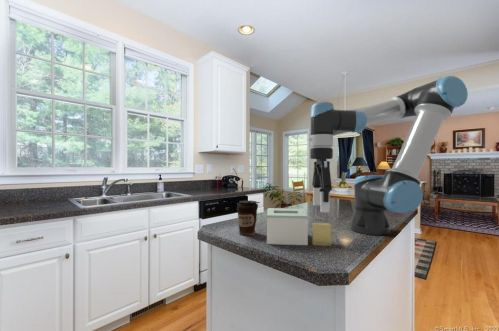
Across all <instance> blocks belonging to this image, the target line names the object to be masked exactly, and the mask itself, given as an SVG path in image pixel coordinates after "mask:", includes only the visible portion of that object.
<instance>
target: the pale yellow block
mask: <svg viewBox="0 0 499 331" xmlns="http://www.w3.org/2000/svg"><path fill="white" fill-rule="evenodd" d="M311 243H312V245H313V246H329V247H331V246H332V225H331V223H330V222H312V223H311Z"/></svg>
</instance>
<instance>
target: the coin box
mask: <svg viewBox="0 0 499 331" xmlns="http://www.w3.org/2000/svg"><path fill="white" fill-rule="evenodd" d="M308 218H309V215H308V214H307V213H306V212H305V210H304V209H303V208H282V207H281V208H279V207H278V208H276V207H275V208H272V207H269V208H267V210H266V244H267V245H286V246H308V245H309V242H308V241H309V239H308V238H309V233H308V232H309V229H308V228H309V225H308V224H309V219H308Z"/></svg>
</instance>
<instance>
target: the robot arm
mask: <svg viewBox="0 0 499 331" xmlns="http://www.w3.org/2000/svg"><path fill="white" fill-rule="evenodd" d="M468 95H469V93H468V88H467V86H466V84H465V82H464V81H463V80H462V79H460V77H457V76H454V75H448V76H445V77H439V78H438V79H436V80H433V81H431V82H429V83H425V84H423V85H420V86H418V87H415V88H412V89H411V90H408V91H406V92H404V93H401V94H399V95H397V96H393V97H391V98H390V99H389V100H388V101H384V102H381V103H378V104H374V105H373V104H372V105H370V106H367V107H363V108H359V109H356V110H345V109H335V106H334V104H333V103H332V102H329V101H319V102H316V103H314V104H312V106H311V109H310V137H309V138H308V141H309V142H310V147H311V148H310V150H309V152H310V153H309V157H310V159H311V160H316V161H314V162H313V174H312V183H311V184H312V187H313V188H312V189H313V191H312V196H313V197H312V198H313V199H312V200H313V201H312V205H313V206H320V212H321V213H330V212H331V211H330V209H331V208H330V204H331V200H330V199H331V194H330V193H331V191H333V188H332V186H333V185H332V179H331V170H330V169H331V168H330V167H331V166H330V161H329V160H332V159H333V156H334V155H333V154H334V150H333V148H332V147H333V146H334V136H337V135H342V134H346V133H355V134H356V133H361V132H363V131H364V130H365V129H366V127H367V126H371V125H374V124H379V123H381V122H384V121H388V120H392V119H394V120H400V119H405V118H411V117H415V118H414V120H413V122H412V124H411V126H410V128H409V131H408V132H407V135H406V137H405V139H404V141H403V143H402V145H401V148H400V151H399V153H398V155H397V158H395V161H394V163H393V165H392V168H390V169H387V170H385V172H384V174H375V175H374V174H373V175H372V174H371V175H360V176H356V177H355V179H354V185H353V187H354V211H353V214H352V218H351V220H350V224H349V228H350V230H351V231H354V232H355V233H356V232H357V233H358V234H359V233H360V234H365V235H371V234H372V235H371V236H373V235H375V236H383V235H382V234H386V235H389V234H391V225H390V224H389V221H388V217H387V215H386V211H389V212H391V213H396V214H397V213H398V214H408V213H412V212H414V211H415V210H416V209H418V208H419V207H420V205H421V203H422V201H423V196H424V194H423V189H422V187H421V180H420V179H419V175H420V173H421V171H422V168H423V166H424V164H425V163H426V159H427V158H428V155H429V153H430V151H431V148H432V146H433V143H435V140H436V137H437V136H438V133H439V130H440V129H441V126H442V124H443V122H444V121H446V120H448V119H449V118H451V116H452V114H453V111H454V109H455V108H460V107H461V106H464V104H466V102H467V100H468Z"/></svg>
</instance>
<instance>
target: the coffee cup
mask: <svg viewBox="0 0 499 331" xmlns="http://www.w3.org/2000/svg"><path fill="white" fill-rule="evenodd" d="M236 205H237V207H236V209H237V220H238V221H237V222H238V223H237V224H238V230H239V231H238V232H239V234H240V235H242V236H252V235H256V224H257V214H258V208H259V204H258V203H257V201H256V200H239V202H238V203H237V204H236Z"/></svg>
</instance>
